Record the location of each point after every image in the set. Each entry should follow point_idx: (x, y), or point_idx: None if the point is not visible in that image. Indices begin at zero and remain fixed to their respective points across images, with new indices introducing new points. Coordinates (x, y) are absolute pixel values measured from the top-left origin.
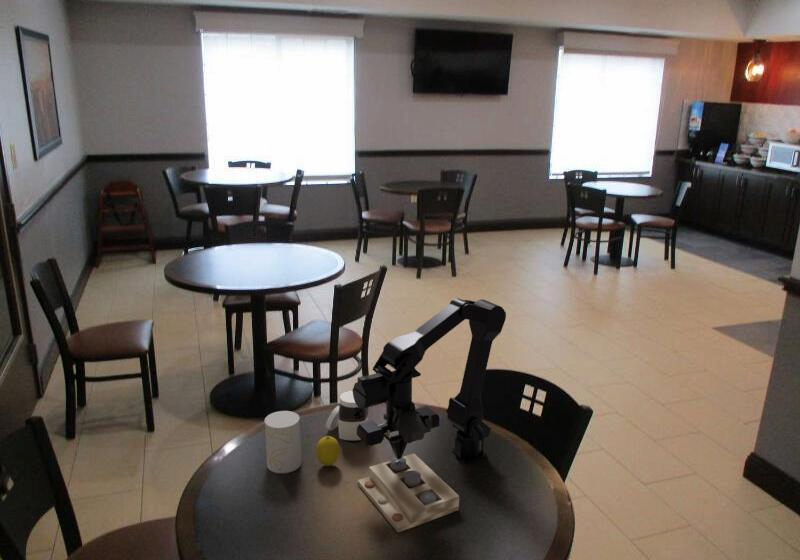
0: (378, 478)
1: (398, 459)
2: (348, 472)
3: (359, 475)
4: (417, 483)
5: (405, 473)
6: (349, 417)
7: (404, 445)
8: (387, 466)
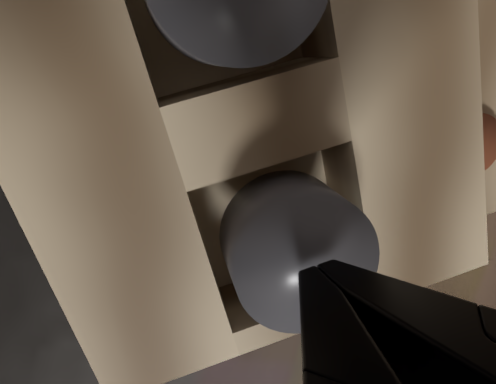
0: (472, 120)
1: None
2: (488, 303)
3: None
4: None
5: (310, 25)
6: None
7: (351, 375)
8: None
